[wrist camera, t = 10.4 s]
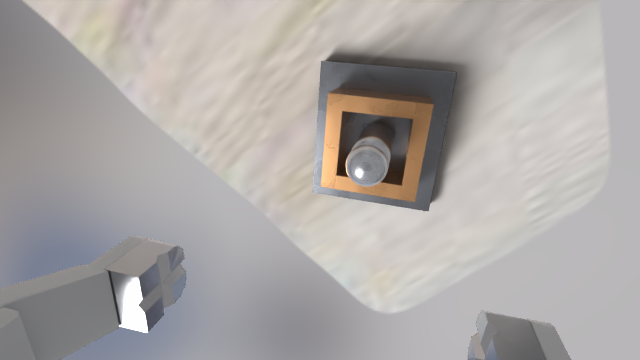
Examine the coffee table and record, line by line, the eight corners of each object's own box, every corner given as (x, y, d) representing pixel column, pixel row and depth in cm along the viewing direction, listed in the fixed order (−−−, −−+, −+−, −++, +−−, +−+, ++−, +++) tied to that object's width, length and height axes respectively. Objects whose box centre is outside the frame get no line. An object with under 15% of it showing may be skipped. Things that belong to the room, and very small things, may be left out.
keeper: (325, 60, 25) (287, 67, 18) (454, 71, 23) (475, 84, 16) (316, 186, 29) (282, 237, 21) (427, 204, 27) (433, 266, 20)
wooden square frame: (337, 87, 24) (328, 93, 22) (431, 97, 23) (433, 104, 20) (330, 172, 27) (320, 186, 24) (414, 185, 26) (414, 201, 23)
